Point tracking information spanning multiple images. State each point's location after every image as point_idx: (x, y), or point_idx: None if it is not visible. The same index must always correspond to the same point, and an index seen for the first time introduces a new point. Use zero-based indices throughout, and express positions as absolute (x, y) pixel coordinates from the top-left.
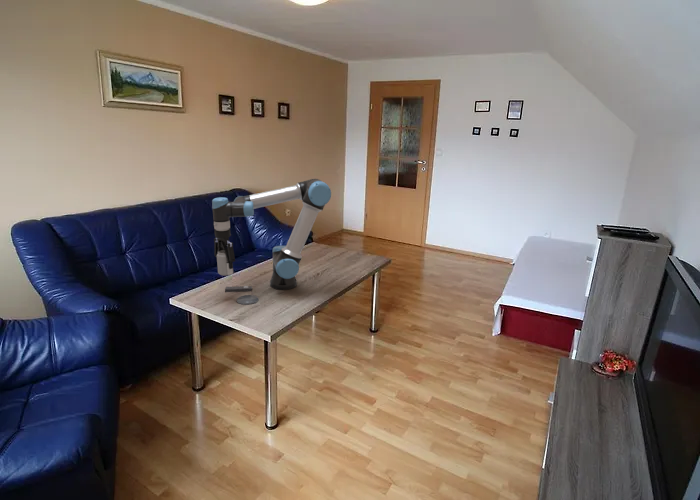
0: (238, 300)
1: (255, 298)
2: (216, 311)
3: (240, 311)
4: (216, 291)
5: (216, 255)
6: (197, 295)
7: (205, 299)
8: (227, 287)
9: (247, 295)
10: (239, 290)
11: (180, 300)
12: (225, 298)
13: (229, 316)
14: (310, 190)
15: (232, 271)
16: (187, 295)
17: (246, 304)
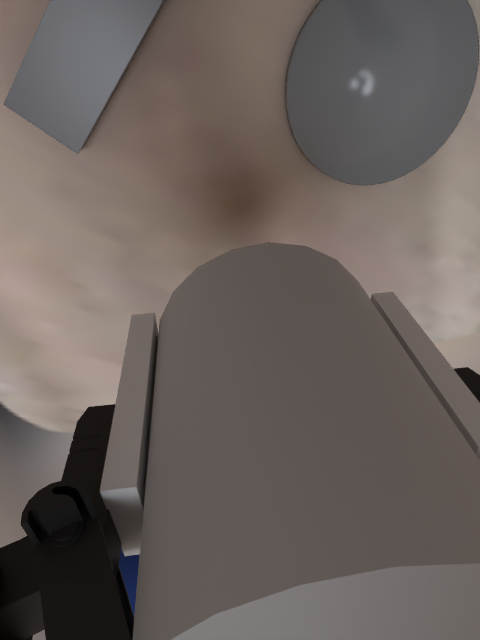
0: (343, 167)
1: (431, 10)
2: None
3: (470, 239)
4: (28, 200)
5: (26, 623)
6: (42, 336)
7: None
8: (35, 103)
9: (318, 32)
10: (152, 19)
11: (73, 423)
12: (216, 213)
13: (459, 315)
14: None
15: (407, 319)
16: (9, 378)
17: (434, 148)
